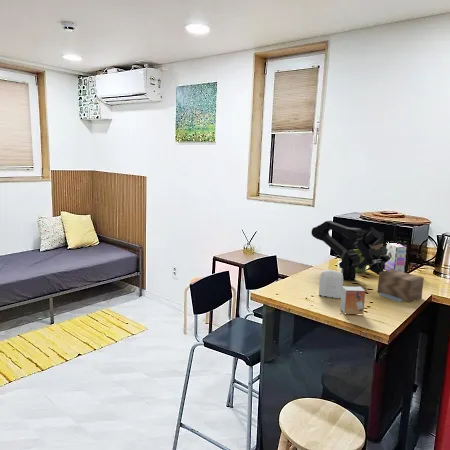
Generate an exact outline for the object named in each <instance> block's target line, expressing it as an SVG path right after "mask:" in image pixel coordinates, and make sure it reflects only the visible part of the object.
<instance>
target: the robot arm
mask: <svg viewBox="0 0 450 450" xmlns="http://www.w3.org/2000/svg"><path fill="white" fill-rule="evenodd" d="M330 231H334V232H336V233H339V234H341V235H344V236H345V238H347V239H349V240H350V241H352V242H353V241H354V242H353V245H352V248H357V250H359V251H360V252H361V254H362V255H361V257H364V258H365V259H364V260H363V261H361V262H360V256H359V255H358V253H356V252H355V251H354V249H347V248H345V247H344V246H343V245H342V244H341V243H339V242H338V240H336V239H335V238H334V237H332V236H331V235H330V233H329V232H330ZM310 234H311V236H312V237H313V238H315V239H317V240H319V241H322V242H323V243H325V244H326V245H327V246H328V247H329V248H331V250H333V251H334V253H336V254H337V255H338V256H339V257H340V260H341V262H339V263H338V266H339V269H340V268H341V271H340V272H341V273H343V281H356V276H357V272H356V271H355V268H356V267H357V266H358V268H359V269H360V270H362V269H364V267H365V266H368V268H367V270H370V271H371V272H373V273H374V274H376V275H378V276H379V272H382V271H385V269H384V267H383V265H385V263H386V262H387V261H389V260H390V257H389V256H388V255H386V254H387V251H388V249H387V248H386V246H381V247H379V248H377V249H376V248H373V247H372V246H373V245H375V244H376V243H377V242H378V241H380V239H382V233H381V232H380V231H378V230H376V229H375V228H374V227H370V228H369V229H368V230H367V231H364V230H363V229H362V228H360V227H359V228H358V227H348V226H346V225H343V224H340V223H337V222H334V221H333V220H326V221H324V222H322V223H321V224H318V225H317V226H314V227H312V229H311V233H310Z"/></svg>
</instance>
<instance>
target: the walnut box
mask: <svg viewBox="0 0 450 450" xmlns="http://www.w3.org/2000/svg"><path fill="white" fill-rule="evenodd" d="M377 282H378V283H377V293H379V294H380V293H385V294H388V295H391V296H394V297H397V298H400V299H402V302H406V303H409V302H410V303H412V301H413V302H415V300H416V301H418V299H419V300H421V299H422V297H423V286H424V277H422V276H419V275H415V274H411V273H408V272H405V271H404V272H400V271H396V270H393V269H391V270H387V271H386V270H384V271H382V272H379V275H378V281H377Z"/></svg>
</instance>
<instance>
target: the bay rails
mask: <svg viewBox="0 0 450 450" xmlns="http://www.w3.org/2000/svg"><path fill="white" fill-rule="evenodd" d="M379 296H380V297H382V298H386V299H389V300H392V301H395V302H398V303H401V302H403V300H402V299H400V298H397V297H394V296H391V295H388V294H385V293H379Z"/></svg>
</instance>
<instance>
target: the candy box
mask: <svg viewBox="0 0 450 450" xmlns="http://www.w3.org/2000/svg"><path fill="white" fill-rule="evenodd" d="M387 242H388V243H387ZM387 242H386V244H387V245H386V246H385V247H386V248H387V249H388V251H387V254H385V255H388V256H389V257H390V260H389V261H387V262H386V263H385V264H384V271H387V270H391V269H393V270H396V271H400V272H404V273H405V269H406V268H405V266H406V259H407V258H406V256H407V249H408V248H407V246H404V245H403V244H400V243H399V244H397V243H398V242H397V243H389V241H387Z"/></svg>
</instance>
